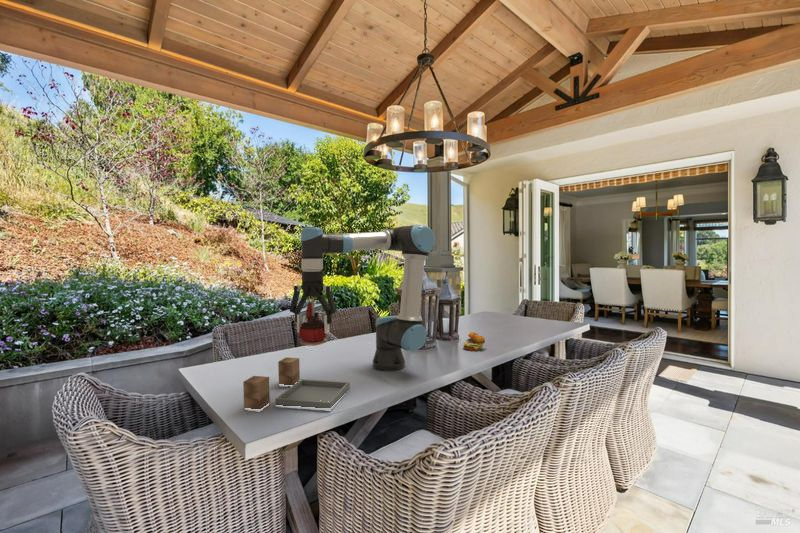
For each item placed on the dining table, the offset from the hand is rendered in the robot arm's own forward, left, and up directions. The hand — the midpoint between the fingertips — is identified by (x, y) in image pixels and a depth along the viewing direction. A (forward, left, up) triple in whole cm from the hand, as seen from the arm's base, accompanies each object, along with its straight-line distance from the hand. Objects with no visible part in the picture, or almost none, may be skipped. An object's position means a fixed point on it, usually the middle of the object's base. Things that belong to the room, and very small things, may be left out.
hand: (313, 332), depth 138 cm
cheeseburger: (-56, -79, -25) cm, 100 cm away
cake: (0, 0, -4) cm, 4 cm away
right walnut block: (+16, -12, -24) cm, 31 cm away
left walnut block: (+16, +11, -24) cm, 31 cm away
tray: (0, 0, -24) cm, 24 cm away
